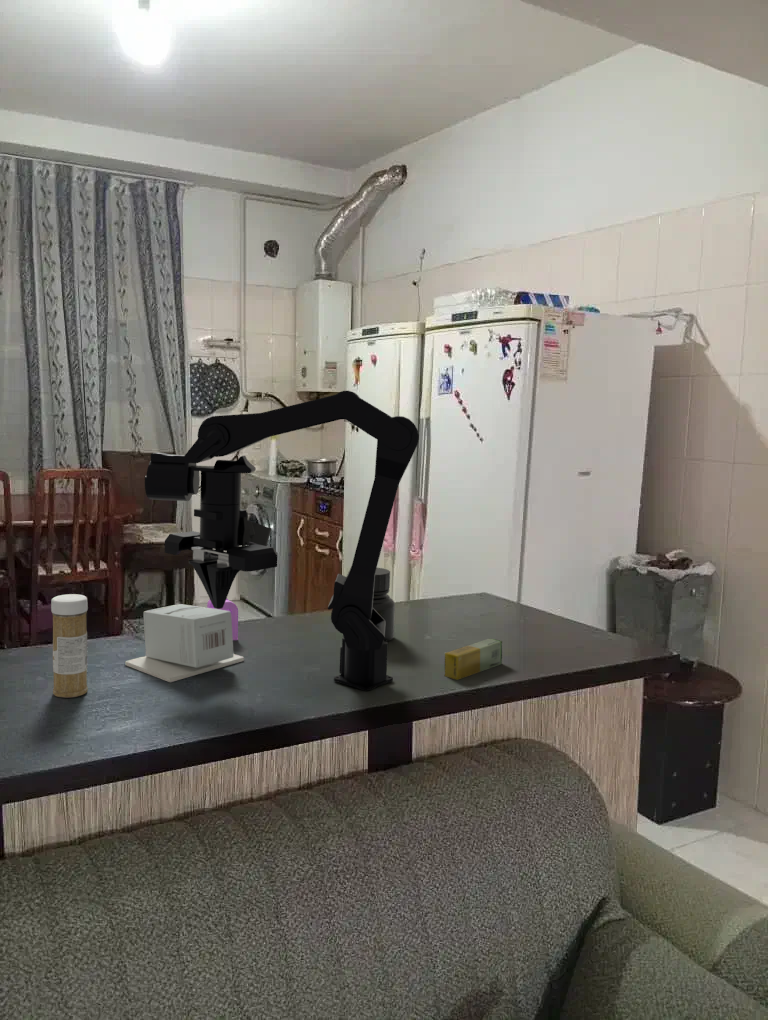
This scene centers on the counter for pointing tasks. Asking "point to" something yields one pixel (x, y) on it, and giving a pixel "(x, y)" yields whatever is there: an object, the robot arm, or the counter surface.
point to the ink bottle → (384, 601)
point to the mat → (175, 667)
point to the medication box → (473, 658)
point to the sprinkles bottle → (69, 645)
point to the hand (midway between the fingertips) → (218, 608)
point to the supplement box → (188, 634)
